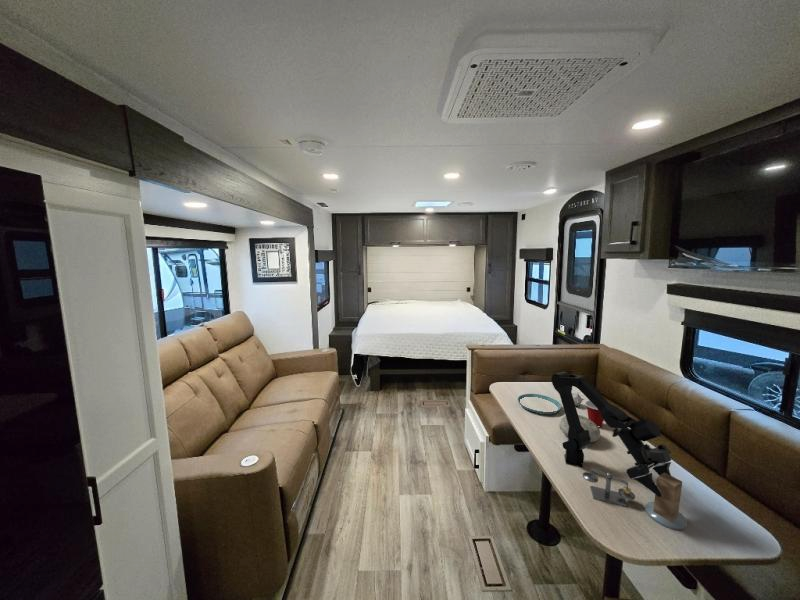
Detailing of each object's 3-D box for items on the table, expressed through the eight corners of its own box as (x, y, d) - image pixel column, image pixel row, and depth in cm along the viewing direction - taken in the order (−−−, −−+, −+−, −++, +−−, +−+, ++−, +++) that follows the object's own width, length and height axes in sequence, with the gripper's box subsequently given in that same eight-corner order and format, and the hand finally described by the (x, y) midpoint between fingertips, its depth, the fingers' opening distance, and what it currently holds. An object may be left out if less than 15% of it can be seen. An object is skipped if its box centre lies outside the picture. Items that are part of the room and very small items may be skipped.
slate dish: (651, 523, 105) (651, 521, 105) (640, 500, 115) (640, 498, 115) (693, 534, 101) (693, 531, 101) (678, 509, 111) (678, 507, 111)
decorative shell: (599, 434, 159) (601, 416, 158) (599, 452, 145) (600, 431, 143) (560, 424, 169) (562, 407, 168) (556, 440, 154) (557, 420, 153)
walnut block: (653, 511, 109) (657, 476, 107) (660, 506, 111) (664, 472, 110) (670, 521, 104) (674, 486, 103) (678, 516, 107) (682, 481, 105)
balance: (582, 496, 117) (584, 471, 116) (580, 485, 123) (582, 461, 122) (636, 509, 111) (639, 483, 110) (631, 497, 116) (634, 472, 115)
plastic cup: (579, 420, 174) (580, 399, 173) (598, 419, 174) (600, 399, 173) (591, 430, 163) (593, 408, 162) (611, 430, 163) (613, 408, 162)
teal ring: (508, 402, 196) (509, 397, 195) (536, 396, 206) (537, 391, 206) (540, 420, 174) (541, 414, 174) (570, 411, 184) (570, 406, 184)
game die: (574, 410, 194) (580, 395, 196) (582, 411, 185) (589, 396, 188) (561, 402, 195) (567, 388, 197) (569, 403, 186) (575, 388, 189)
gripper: (639, 445, 105) (676, 497, 97) (667, 432, 114) (703, 478, 105) (613, 454, 113) (644, 502, 105) (640, 441, 122) (672, 485, 113)
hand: (667, 492), depth 107 cm, fingers open, 9 cm apart
